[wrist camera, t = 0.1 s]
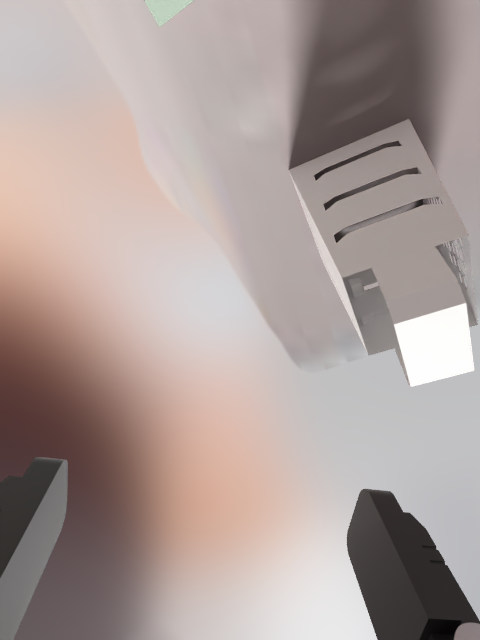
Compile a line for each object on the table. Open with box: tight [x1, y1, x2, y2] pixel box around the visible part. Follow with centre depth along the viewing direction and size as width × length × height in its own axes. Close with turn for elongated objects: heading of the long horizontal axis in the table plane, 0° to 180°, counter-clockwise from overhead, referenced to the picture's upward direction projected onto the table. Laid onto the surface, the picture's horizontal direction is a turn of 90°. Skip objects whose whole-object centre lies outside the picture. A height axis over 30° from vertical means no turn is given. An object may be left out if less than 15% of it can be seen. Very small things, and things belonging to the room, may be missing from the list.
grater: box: [289, 119, 478, 387], centre depth 31 cm, size 10×10×20 cm
